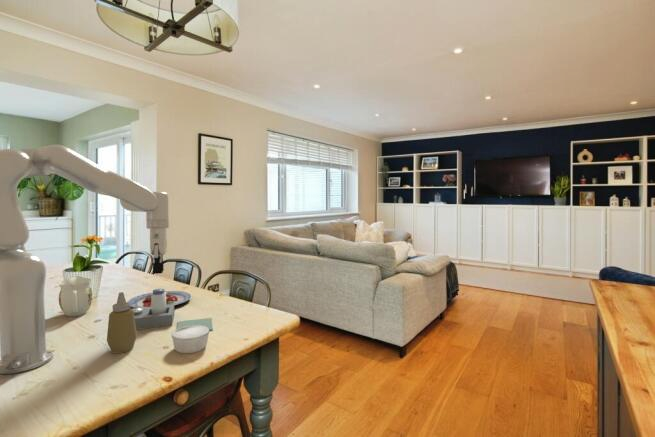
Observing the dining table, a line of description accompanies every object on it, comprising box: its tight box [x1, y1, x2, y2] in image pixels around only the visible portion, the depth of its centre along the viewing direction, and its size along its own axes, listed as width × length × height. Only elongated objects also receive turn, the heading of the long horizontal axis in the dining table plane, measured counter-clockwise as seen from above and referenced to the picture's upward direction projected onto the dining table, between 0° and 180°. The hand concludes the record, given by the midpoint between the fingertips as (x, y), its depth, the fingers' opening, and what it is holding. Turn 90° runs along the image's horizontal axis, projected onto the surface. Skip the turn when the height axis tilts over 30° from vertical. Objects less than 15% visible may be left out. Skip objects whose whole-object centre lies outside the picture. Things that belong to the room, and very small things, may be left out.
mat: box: [176, 317, 214, 332], centre depth 125 cm, size 12×12×1 cm
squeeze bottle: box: [106, 292, 138, 354], centre depth 105 cm, size 8×8×18 cm
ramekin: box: [171, 325, 210, 354], centre depth 107 cm, size 11×11×5 cm
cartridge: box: [151, 288, 166, 315], centre depth 129 cm, size 5×5×12 cm
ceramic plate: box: [127, 290, 192, 309], centre depth 152 cm, size 26×26×3 cm
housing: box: [134, 305, 175, 330], centre depth 128 cm, size 16×12×4 cm
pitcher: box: [58, 275, 93, 317], centre depth 135 cm, size 11×18×14 cm, turn 34°
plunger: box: [131, 307, 143, 315], centre depth 126 cm, size 4×4×4 cm
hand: (158, 271), depth 128 cm, fingers open, 2 cm apart
